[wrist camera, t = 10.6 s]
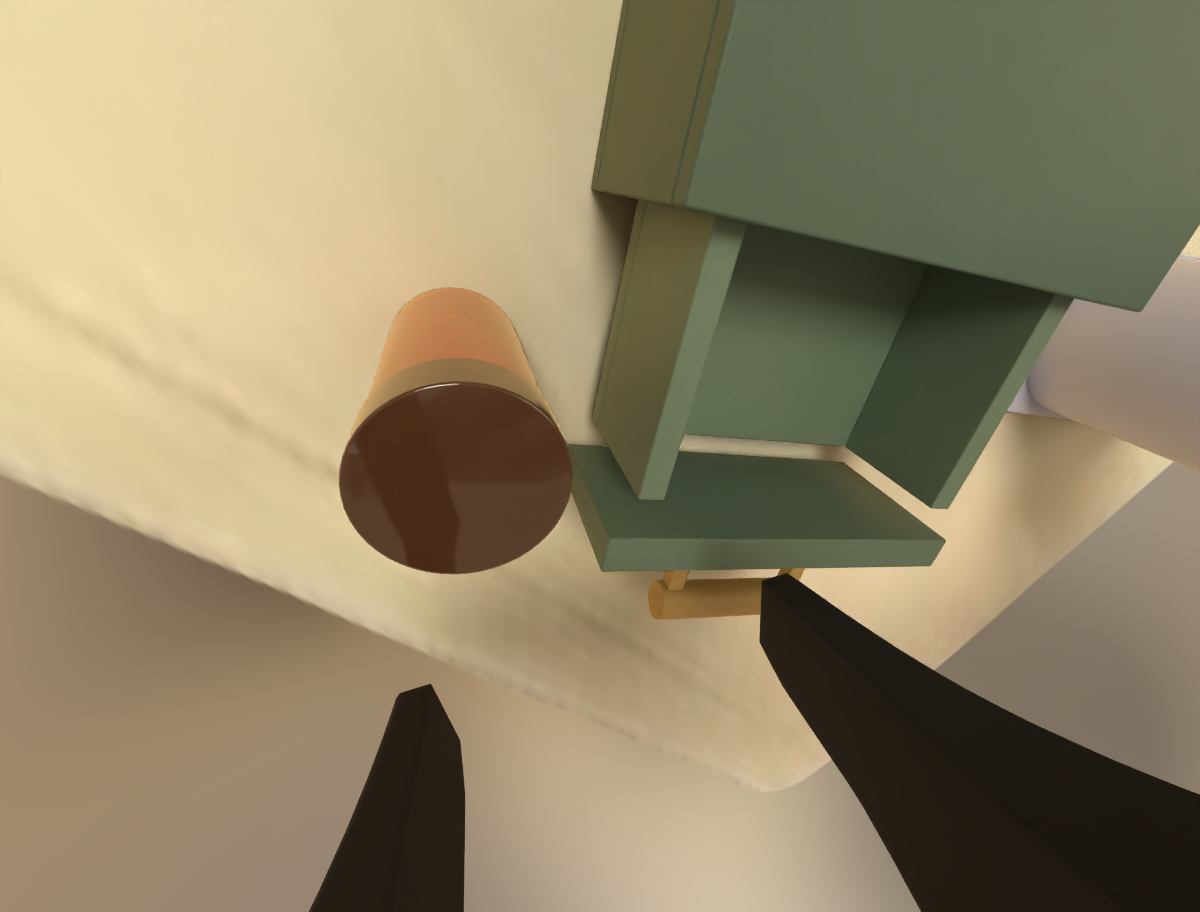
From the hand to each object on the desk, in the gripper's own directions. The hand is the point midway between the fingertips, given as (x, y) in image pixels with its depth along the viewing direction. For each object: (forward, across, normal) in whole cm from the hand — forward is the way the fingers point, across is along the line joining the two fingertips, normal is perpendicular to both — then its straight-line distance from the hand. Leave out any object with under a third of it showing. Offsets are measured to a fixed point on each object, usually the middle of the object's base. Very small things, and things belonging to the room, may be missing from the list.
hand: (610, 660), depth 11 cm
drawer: (+9, -8, 0) cm, 12 cm away
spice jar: (+10, +2, -4) cm, 11 cm away
